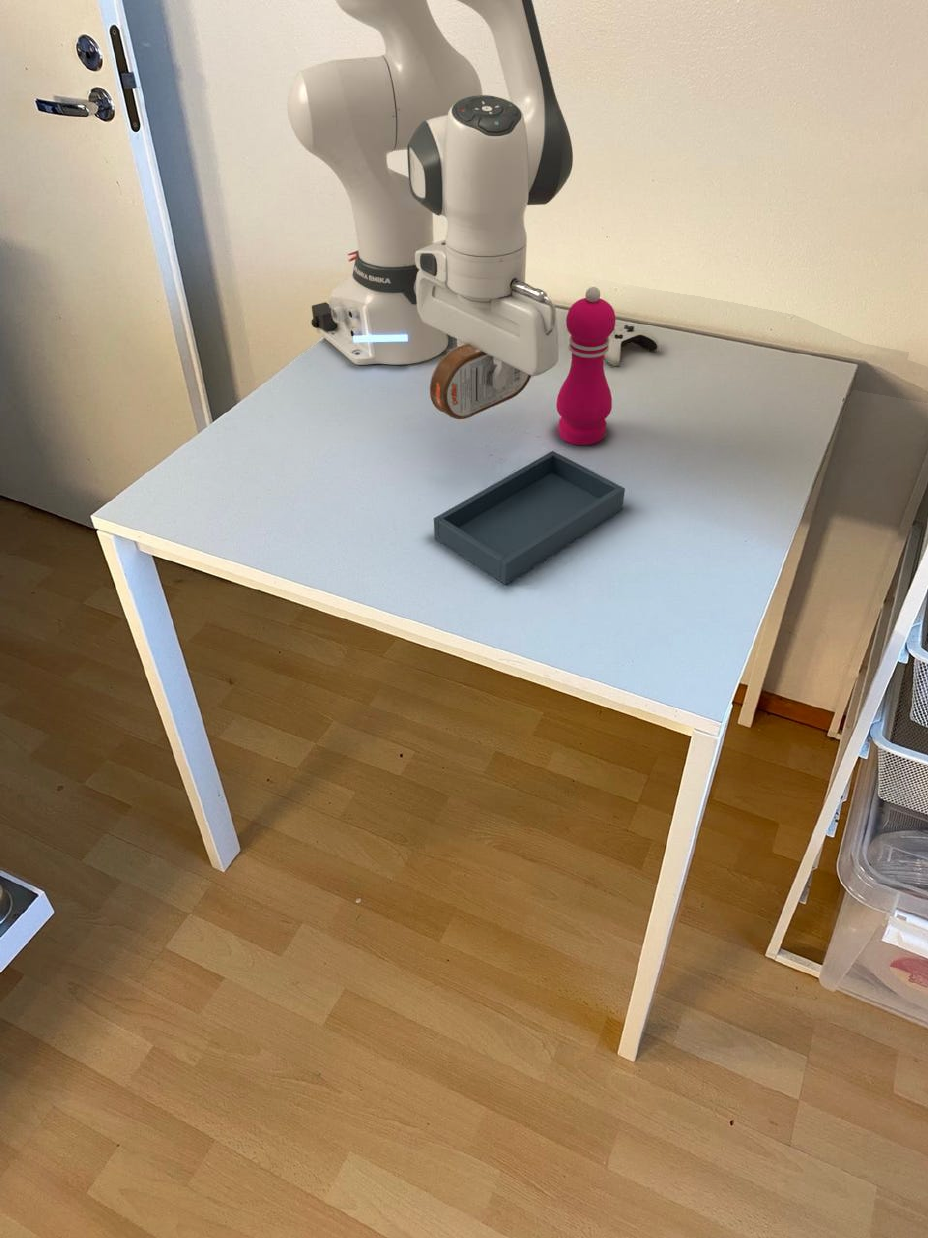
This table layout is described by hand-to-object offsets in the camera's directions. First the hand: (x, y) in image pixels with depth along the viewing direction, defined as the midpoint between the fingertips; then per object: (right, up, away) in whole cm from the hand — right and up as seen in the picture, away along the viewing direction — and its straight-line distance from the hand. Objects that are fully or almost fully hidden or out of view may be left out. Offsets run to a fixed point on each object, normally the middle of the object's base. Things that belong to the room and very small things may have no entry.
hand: (485, 379), depth 110 cm
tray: (+5, -18, -2) cm, 19 cm away
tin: (0, -3, +2) cm, 4 cm away
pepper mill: (+13, -4, +12) cm, 19 cm away
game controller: (+22, +12, +29) cm, 38 cm away
